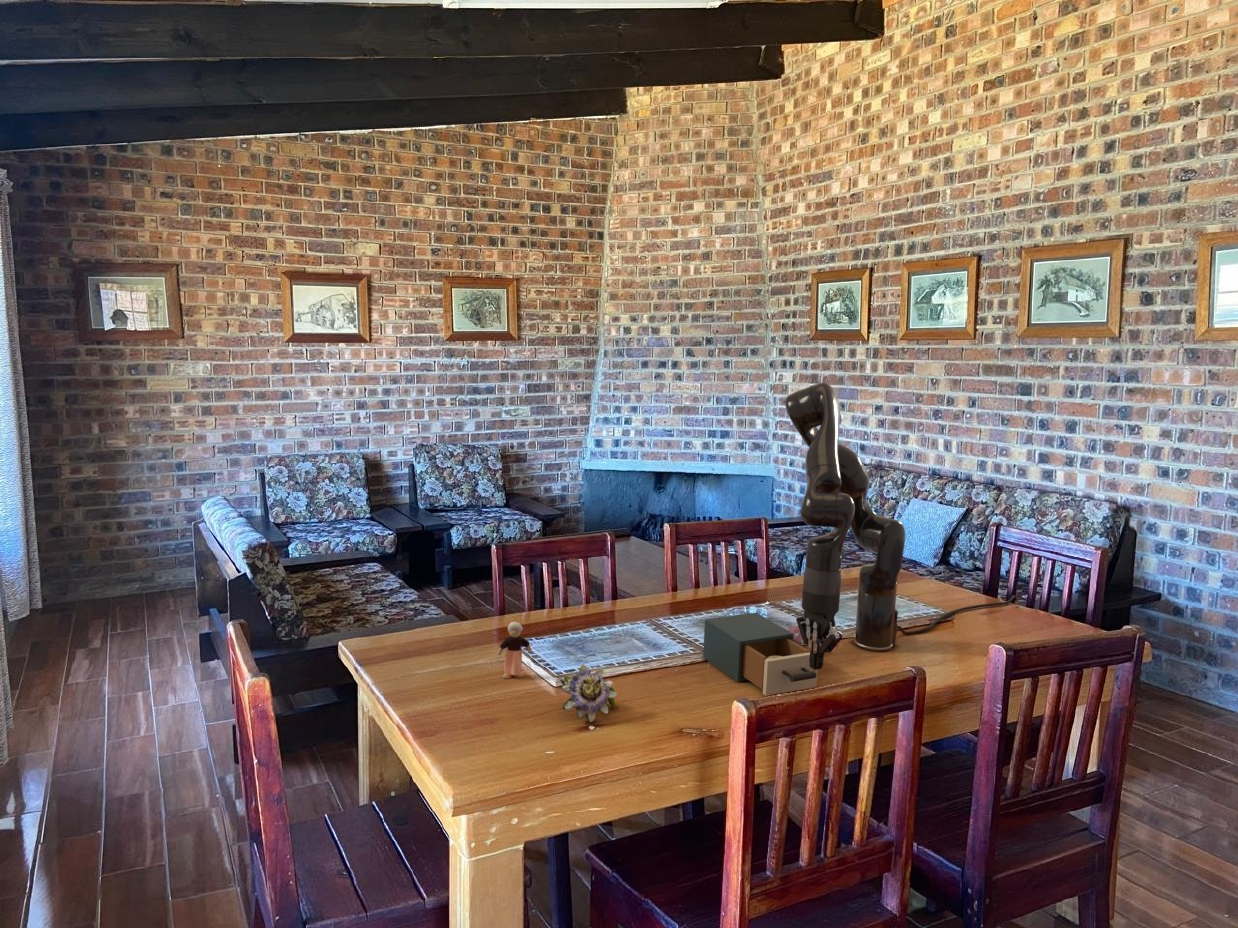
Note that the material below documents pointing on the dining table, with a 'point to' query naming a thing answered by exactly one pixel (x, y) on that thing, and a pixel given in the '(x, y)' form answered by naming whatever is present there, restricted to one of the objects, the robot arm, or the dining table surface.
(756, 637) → the cabinet
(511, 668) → the grandmother figurine
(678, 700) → the dining table surface
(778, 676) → the drawer
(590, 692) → the passion flower
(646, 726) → the dining table surface
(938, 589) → the dining table surface
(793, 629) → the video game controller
